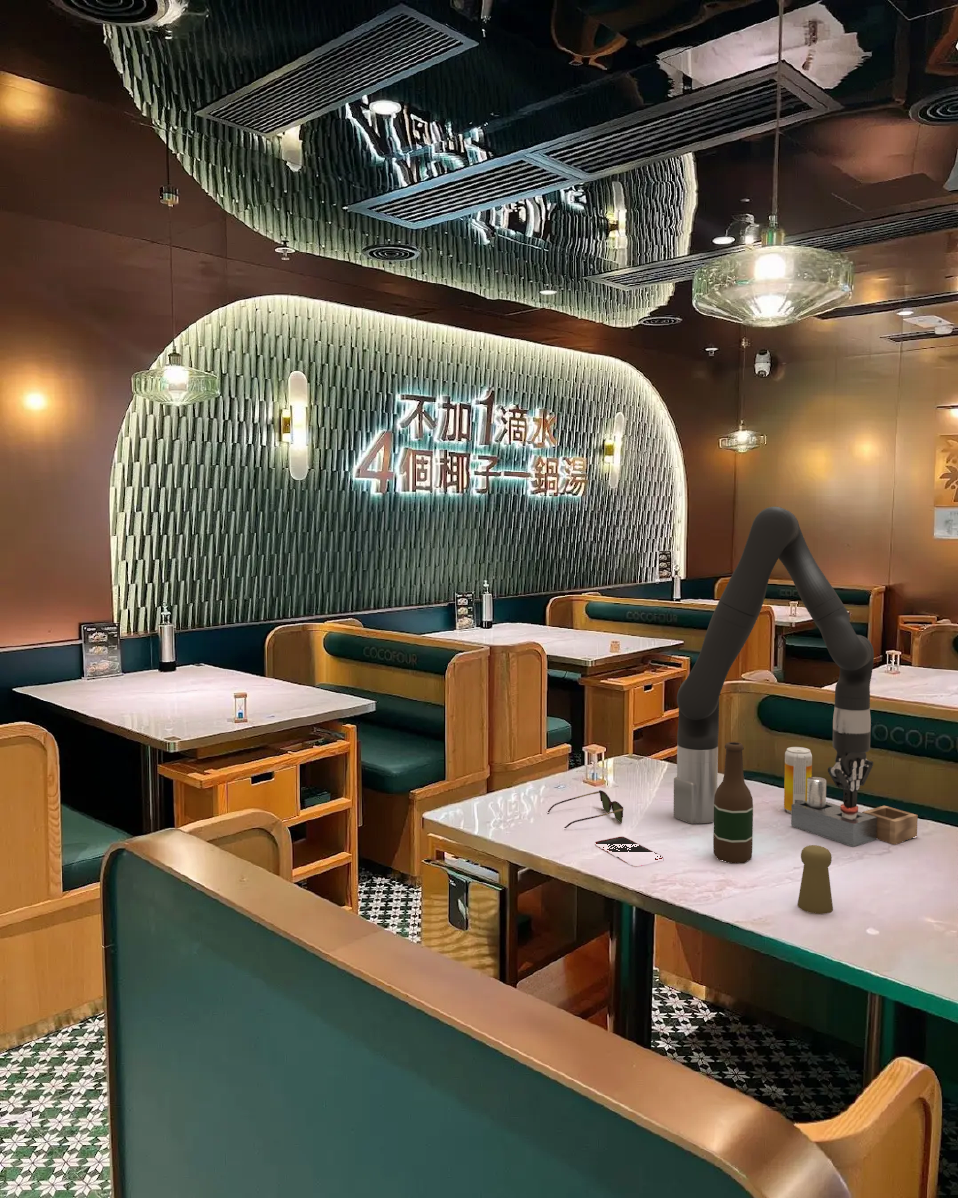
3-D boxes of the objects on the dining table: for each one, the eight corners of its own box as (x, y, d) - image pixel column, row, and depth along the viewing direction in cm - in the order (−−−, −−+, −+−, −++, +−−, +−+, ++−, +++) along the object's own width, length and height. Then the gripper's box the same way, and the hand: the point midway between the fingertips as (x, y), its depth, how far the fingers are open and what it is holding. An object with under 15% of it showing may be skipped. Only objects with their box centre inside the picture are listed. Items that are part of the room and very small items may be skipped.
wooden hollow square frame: (894, 844, 195) (895, 821, 194) (861, 834, 202) (862, 811, 201) (916, 837, 199) (917, 815, 199) (883, 827, 206) (884, 805, 205)
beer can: (807, 807, 220) (808, 746, 219) (813, 816, 214) (815, 753, 213) (781, 807, 221) (782, 746, 219) (787, 815, 215) (788, 752, 213)
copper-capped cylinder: (850, 837, 197) (851, 810, 196) (836, 832, 200) (836, 805, 199) (861, 834, 199) (861, 807, 198) (846, 829, 202) (847, 802, 201)
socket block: (852, 847, 194) (853, 824, 193) (791, 826, 207) (791, 804, 207) (876, 839, 198) (876, 817, 198) (814, 819, 212) (814, 798, 211)
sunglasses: (625, 827, 209) (623, 806, 208) (564, 839, 205) (562, 817, 205) (601, 808, 223) (600, 788, 222) (543, 818, 219) (542, 798, 219)
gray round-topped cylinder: (817, 831, 204) (818, 783, 203) (802, 826, 207) (803, 778, 206) (829, 827, 206) (830, 780, 205) (814, 823, 209) (815, 776, 208)
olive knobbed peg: (791, 900, 167) (792, 842, 166) (823, 899, 168) (824, 841, 167) (806, 914, 161) (807, 854, 160) (839, 913, 162) (840, 853, 161)
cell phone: (622, 840, 201) (622, 835, 201) (665, 862, 188) (665, 857, 187) (593, 846, 197) (593, 841, 197) (634, 869, 184) (634, 864, 184)
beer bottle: (753, 852, 191) (754, 740, 189) (751, 866, 184) (753, 749, 182) (714, 848, 194) (716, 737, 192) (711, 861, 186) (713, 746, 184)
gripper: (855, 721, 204) (854, 796, 205) (816, 728, 197) (815, 807, 198) (886, 727, 197) (884, 805, 199) (847, 735, 191) (845, 816, 192)
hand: (849, 806), depth 199 cm, fingers closed
